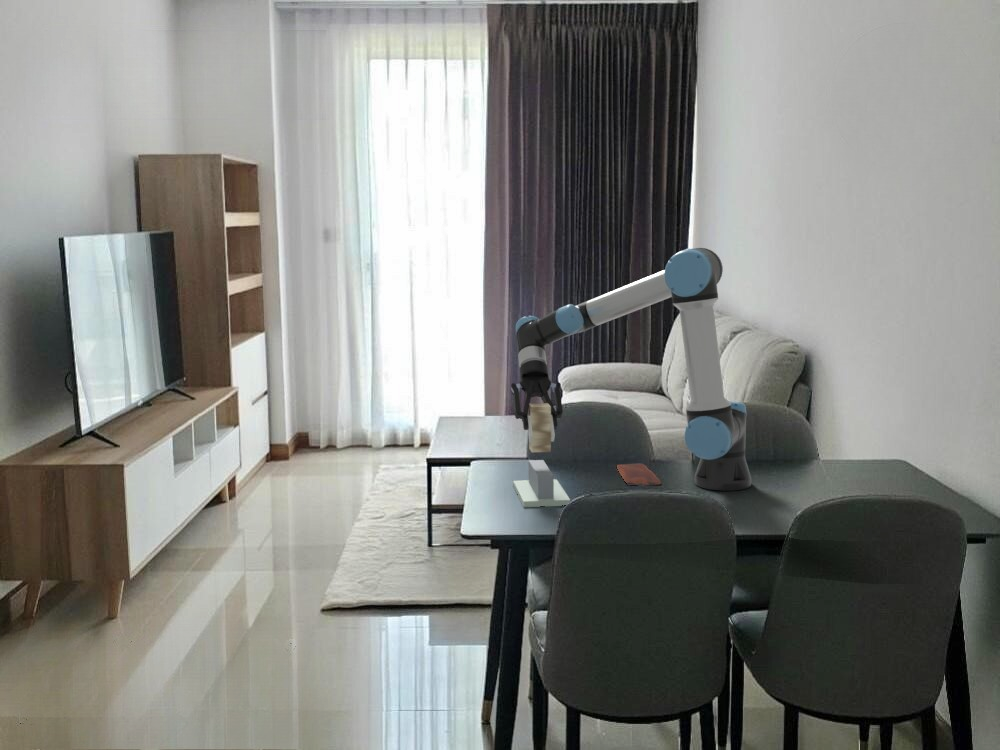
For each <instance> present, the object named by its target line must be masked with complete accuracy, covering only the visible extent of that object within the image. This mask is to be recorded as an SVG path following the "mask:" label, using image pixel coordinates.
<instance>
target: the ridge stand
mask: <svg viewBox="0 0 1000 750" xmlns="http://www.w3.org/2000/svg"><path fill="white" fill-rule="evenodd" d="M512 485H513V486H514V487H513V486H512V487H513V489H514V488H515V489H514V491H515V490H516V491H515V492H517V493H516V495H517V494H518V495H517V497H518V499H519V501H520V503H521V505H522V507H523V508H537V507H539V508H540V506H545V507H563V506H564V505H566V504H567V503H568V502H569V501H570V502H571V498H570V497H569V496H568V494H567V493H566V491H565V489H564V488H563V486H562V485H561V484H560V482H559V480H558V479H555V477H554V473H552V471H551V470H550V468H549V467H548V465H547V464H546V462H545V460H544V459H530V460H528V480H527V479H526V480H525V479H523V480H512ZM562 505H563V506H562ZM564 507H565V506H564Z"/></svg>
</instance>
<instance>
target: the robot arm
mask: <svg viewBox="0 0 1000 750" xmlns="http://www.w3.org/2000/svg"><path fill="white" fill-rule="evenodd" d="M723 267H724V266H723V262H722V260H721V258H720V256H719V255H718V254H717V253H716V252H714V251H713V250H711V249H708V248H706V247H696V248H686V249H682V250H680V251H678V252H676V253H675V254H673V255H672V256H671V257H670V258H669V259H668V261H667V263H666V264H665V268H664V269H663V270H661V271H658V272H656V273H654V274H651V275H649V276H646V277H643V278H641V279H639V280H636V281H633V282H631V283H628V284H626V285H623V286H622V287H618V288H616V289H614V290H612V291H608V292H607V293H604V294H601V295H599V296H596V297H594V298H592V299H589V300H587V301H584V302H581V303H579V304H577V305H574V304H572V303H569V304H566V305H564V306H562V307H559V308H558V309H556V310H554V311H553V312H551V313H549V314H546V315H545V316H542V317H541V318H538V317H537V316H534V315H528V316H523V317H521V318H519V319H518V321H516V324H515V339H516V345H517V355H518V356H517V357H518V366H519V374H520V376H519V377H520V382H519V383H511V384H510V385H511V386H510V392H511V394H512V396H513V408H514V417H515V419H516V420H518V419H521V422H522V427H523V430H524V431H527V434H528V443H529V442H532V439H533V432H532V424H531V415H530V416H529V404H531V399H532V398H535V397H538V398H540V399H541V401H542V402H543V403H548V404H549V405H550V406H551V443H552V442H555V438H556V437H555V436H556V433H555V430H557V428H558V419H561V418H562V416H563V413H564V412H563V411H564V409H563V404H562V397H561V392H560V391H561V386H562V384H561V382H557V383H554V382H552V381H551V379H550V377H549V371H548V362H547V356H546V347H547V346H548V345H551V344H553V343H555V342H557V341H559V340H561V339H563V338H566V337H570V336H572V335H573V336H574V335H575V334H579V333H580V334H581V333H584V332H587V331H588V330H590V329H593V328H595V327H597V326H599V325H600V326H601V325H602V324H606V323H607V322H611V321H613V320H615V319H618V318H621V317H623V316H626V315H629V314H630V313H634V312H637V311H638V310H642V309H644V308H647V307H649V306H651V305H655V304H657V303H659V302H662V301H664V300H667V299H670V298H671V302H672V306H674V307H675V308H677V310H678V311H679V317H680V324H681V332H682V339H683V340H682V341H683V349H684V355H685V356H684V357H685V367H686V373H687V382H688V388H689V397H690V399H689V400H690V401H689V403H688V405H687V406H686V407H685V413H686V423H687V425H686V427H685V429H684V434H683V435H684V436H683V437H684V442H685V445H686V447H687V448H688V450H689V451H690V452H691V454H693V455H694V456H696V457H698V458H699V459H700V460H699V462H698V465H697V468H696V471H695V473H694V485H695V486H697V487H699V488H702V489H705V490H706V489H707V490H713V491H723V492H724V491H726V492H728V491H740V490H745V489H746V490H747V489H749V488H750V487H751V486H752V476H751V473H750V470H749V465H748V463H747V460H746V440H747V439H746V435H747V433H746V430H747V416H748V414H747V406H746V404H745V403H744V402H741V401H740V402H739V401H732V400H731V401H730V400H728V399H727V398H725V393H724V385H723V378H722V377H723V376H722V369H721V359H720V350H719V343H718V336H717V335H718V334H717V327H716V320H715V319H716V318H715V313H714V312H715V310H714V305H715V303H716V302H717V301H718V300H719V294H718V284H719V282H720V281H721V279H722V277H723V272H724V271H723V270H724V269H723ZM550 389H551V391H552V393H554V394H553V398H554V404H555V406H554V404H553V403H552V401H551V398H550V396H549V392H548V391H549V390H550ZM521 390H522V391H523V392H524V393H525V394H526V398H525V400H524V401H525V402H524V407H523V411H521V403H520V402H521V401H520V392H521Z"/></svg>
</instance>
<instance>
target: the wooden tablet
mask: <svg viewBox="0 0 1000 750" xmlns="http://www.w3.org/2000/svg"><path fill="white" fill-rule="evenodd" d="M616 465H617V469H618V470H617V469H616V470H617V472H618V471H619V472H618V473H619V475H620V477H621V476H622V477H621V478H622V479H624V480H623V482H624V481H625V482H626V483H627V484H631V485H637V484H641V483H642V484H645V485H659V486H661V485H662V482H661V480H660V478H658V476H657V475H656V474H655V473H654V472H653V471H652V470H651V469H650V468H649V467H648V466H647V465H645V463H640V462H639V463H638V462H637V463H623V464H616ZM647 467H648V468H649V469H650V470H649V469H648V468H647ZM656 476H657V477H656ZM625 482H624V483H625ZM626 483H625V484H626ZM627 484H626V485H627ZM645 485H644V486H645Z"/></svg>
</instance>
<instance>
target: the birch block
mask: <svg viewBox="0 0 1000 750" xmlns="http://www.w3.org/2000/svg"><path fill="white" fill-rule="evenodd" d="M530 415H531V424H532V432H533V439H532V442H529V441H528V449H529V450H530V452H531V453H551V451H552V450H551V449H552V445H551V444H552V442H551V406H550V405H549V404H548V403H544V402H543V403H541V402H540V403H539V402H538V403H535V402H534V403H530V404H529V411H528V416H530Z"/></svg>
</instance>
